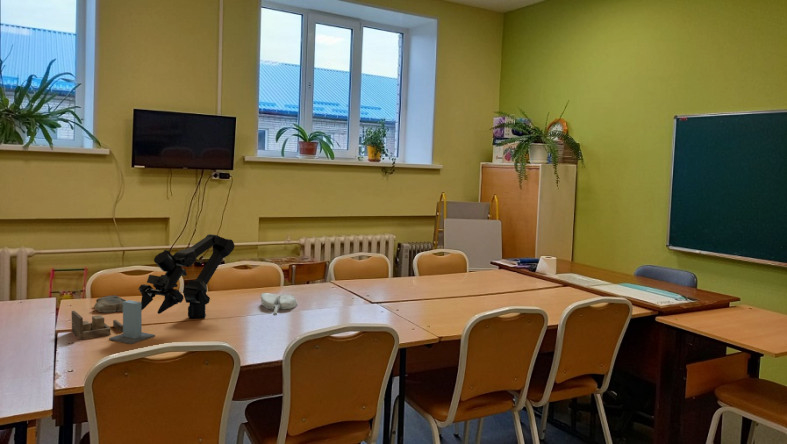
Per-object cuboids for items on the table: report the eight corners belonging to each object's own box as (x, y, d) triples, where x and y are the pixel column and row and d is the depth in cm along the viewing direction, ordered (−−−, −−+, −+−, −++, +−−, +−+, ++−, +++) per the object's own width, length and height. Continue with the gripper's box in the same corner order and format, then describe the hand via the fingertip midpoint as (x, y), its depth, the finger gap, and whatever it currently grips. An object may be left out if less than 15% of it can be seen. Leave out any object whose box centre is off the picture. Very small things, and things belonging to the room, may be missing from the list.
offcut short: (87, 332, 220) (86, 320, 220) (90, 335, 216) (90, 323, 216) (78, 333, 218) (78, 322, 218) (81, 336, 214) (81, 325, 214)
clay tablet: (93, 304, 262) (94, 314, 245) (93, 293, 262) (94, 303, 245) (127, 302, 269) (131, 312, 252) (127, 292, 269) (131, 301, 251)
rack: (115, 325, 230) (114, 305, 229) (124, 332, 221) (124, 312, 220) (71, 331, 220) (71, 311, 219) (80, 339, 211) (79, 318, 210)
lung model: (298, 301, 280) (295, 320, 256) (261, 302, 278) (255, 320, 254) (298, 288, 279) (295, 306, 255) (261, 289, 277) (255, 306, 253)
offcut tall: (100, 330, 223) (100, 314, 223) (104, 333, 220) (104, 317, 219) (92, 331, 221) (92, 316, 221) (95, 334, 218) (95, 319, 217)
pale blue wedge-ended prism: (129, 334, 218) (129, 300, 216) (141, 336, 215) (141, 302, 214) (123, 336, 215) (122, 301, 214) (135, 338, 212) (134, 303, 211)
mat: (133, 332, 222) (133, 330, 222) (155, 336, 218) (155, 334, 218) (109, 339, 212) (109, 337, 212) (131, 344, 208) (131, 342, 208)
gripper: (141, 264, 228) (118, 297, 219) (178, 269, 221) (155, 303, 212) (157, 280, 236) (135, 312, 227) (192, 285, 229) (172, 319, 220)
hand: (149, 311), depth 222 cm, fingers open, 9 cm apart
